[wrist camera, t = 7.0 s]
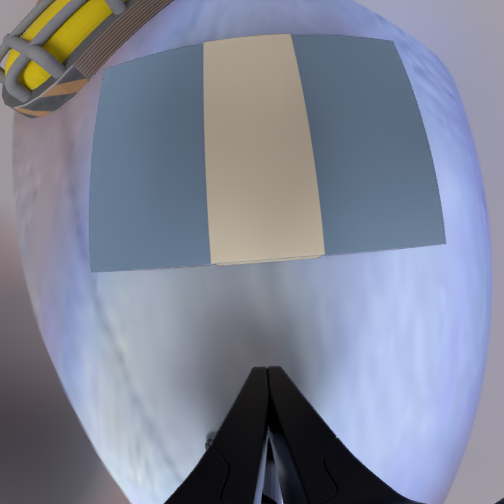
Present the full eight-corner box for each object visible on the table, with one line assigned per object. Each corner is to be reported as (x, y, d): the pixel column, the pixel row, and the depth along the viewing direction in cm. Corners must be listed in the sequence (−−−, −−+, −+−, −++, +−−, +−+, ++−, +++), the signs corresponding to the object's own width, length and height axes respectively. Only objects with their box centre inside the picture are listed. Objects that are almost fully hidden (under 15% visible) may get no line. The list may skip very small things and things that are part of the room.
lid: (436, 244, 13) (446, 243, 12) (100, 272, 15) (89, 272, 13) (388, 50, 14) (393, 40, 13) (111, 76, 15) (104, 68, 14)
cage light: (-29, 76, 16) (140, -78, 16) (7, 98, 24) (154, -45, 24) (-3, 110, 15) (219, -79, 15) (47, 138, 23) (227, -35, 23)
